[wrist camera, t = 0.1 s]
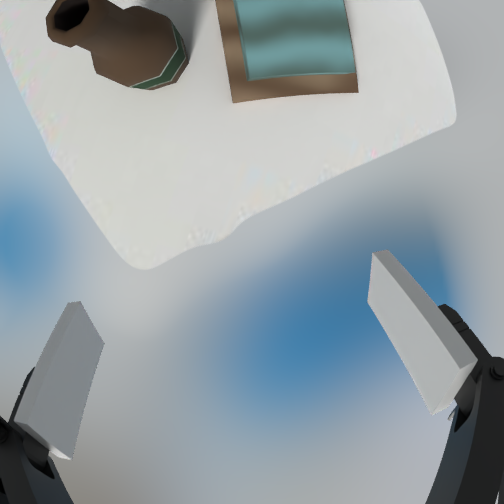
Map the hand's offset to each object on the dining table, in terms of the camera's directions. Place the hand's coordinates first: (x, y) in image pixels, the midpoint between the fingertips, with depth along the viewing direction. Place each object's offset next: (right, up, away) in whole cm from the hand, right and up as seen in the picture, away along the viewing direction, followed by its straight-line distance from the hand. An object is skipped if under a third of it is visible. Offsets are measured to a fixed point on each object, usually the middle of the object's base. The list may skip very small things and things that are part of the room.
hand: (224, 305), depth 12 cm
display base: (+5, +29, +17) cm, 34 cm away
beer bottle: (-10, +25, +17) cm, 32 cm away
